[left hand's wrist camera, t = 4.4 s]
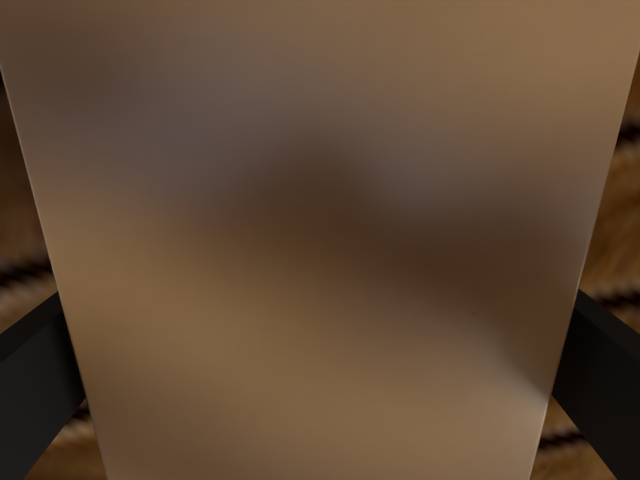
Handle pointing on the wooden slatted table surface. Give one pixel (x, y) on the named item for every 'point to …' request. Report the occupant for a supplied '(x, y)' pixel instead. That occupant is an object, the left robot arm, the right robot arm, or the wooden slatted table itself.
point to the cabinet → (318, 222)
